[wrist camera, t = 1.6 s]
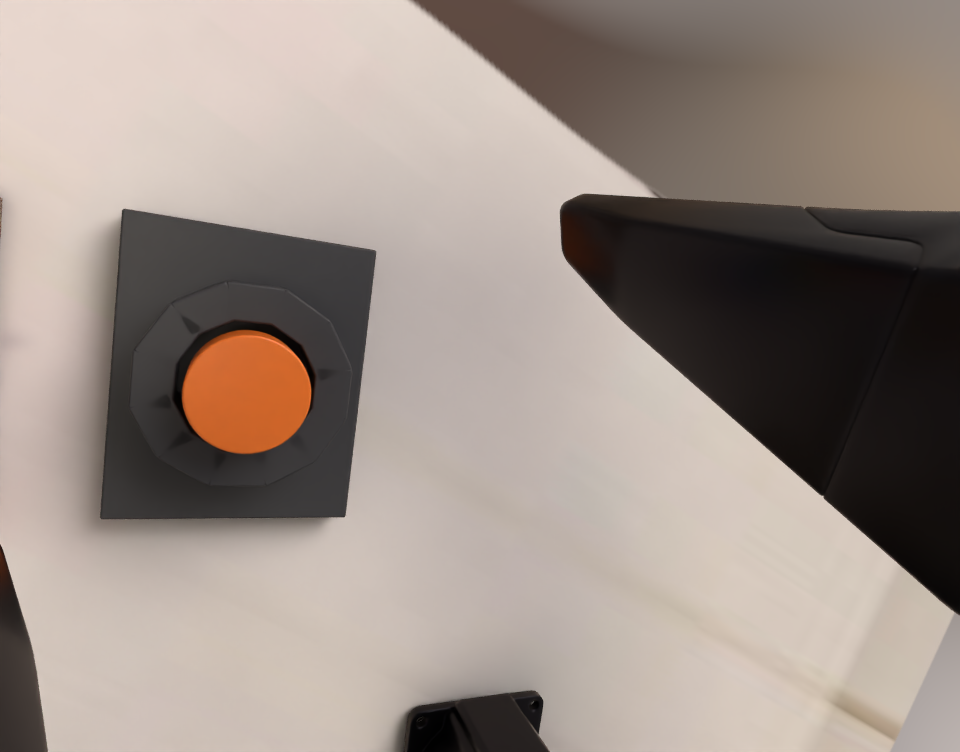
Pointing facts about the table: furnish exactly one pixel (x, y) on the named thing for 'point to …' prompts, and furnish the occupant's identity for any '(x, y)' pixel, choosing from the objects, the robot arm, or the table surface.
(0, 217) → the brown square slab
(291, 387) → the button
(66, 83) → the table surface
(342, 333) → the opener housing
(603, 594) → the table surface
